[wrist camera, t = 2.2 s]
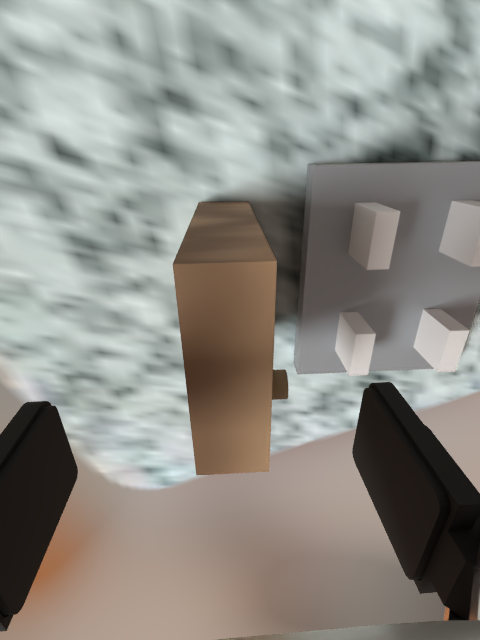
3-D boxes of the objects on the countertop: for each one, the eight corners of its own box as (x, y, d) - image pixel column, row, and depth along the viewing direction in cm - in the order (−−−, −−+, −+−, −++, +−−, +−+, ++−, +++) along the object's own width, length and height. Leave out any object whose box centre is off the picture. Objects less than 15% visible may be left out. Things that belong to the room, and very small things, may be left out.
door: (267, 200, 20) (318, 259, 10) (265, 329, 24) (297, 470, 14) (198, 202, 20) (172, 264, 10) (207, 331, 24) (196, 475, 14)
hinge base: (507, 160, 20) (579, 163, 16) (444, 356, 26) (484, 393, 22) (307, 164, 19) (330, 168, 15) (293, 362, 26) (306, 401, 22)
